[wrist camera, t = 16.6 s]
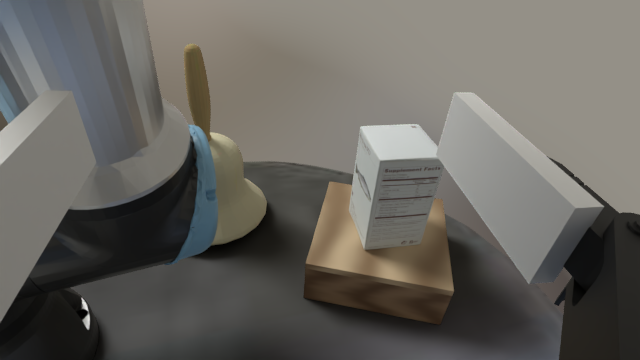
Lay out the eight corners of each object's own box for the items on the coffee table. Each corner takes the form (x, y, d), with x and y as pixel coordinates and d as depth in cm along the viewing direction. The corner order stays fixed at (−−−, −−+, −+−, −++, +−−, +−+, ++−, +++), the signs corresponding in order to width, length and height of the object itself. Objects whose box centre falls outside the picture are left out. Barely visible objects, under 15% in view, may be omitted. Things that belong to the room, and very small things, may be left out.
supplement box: (347, 210, 49) (358, 124, 42) (400, 206, 50) (420, 122, 43) (362, 252, 43) (378, 159, 36) (422, 246, 45) (450, 156, 37)
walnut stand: (303, 297, 45) (305, 263, 41) (326, 213, 58) (329, 181, 54) (440, 324, 43) (453, 291, 39) (432, 231, 56) (442, 199, 52)
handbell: (286, 205, 59) (287, 41, 44) (223, 271, 47) (197, 80, 33) (208, 175, 64) (187, 20, 49) (135, 228, 53) (80, 46, 38)
